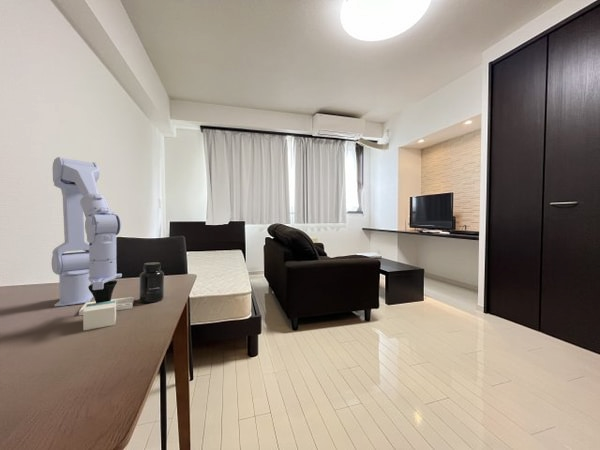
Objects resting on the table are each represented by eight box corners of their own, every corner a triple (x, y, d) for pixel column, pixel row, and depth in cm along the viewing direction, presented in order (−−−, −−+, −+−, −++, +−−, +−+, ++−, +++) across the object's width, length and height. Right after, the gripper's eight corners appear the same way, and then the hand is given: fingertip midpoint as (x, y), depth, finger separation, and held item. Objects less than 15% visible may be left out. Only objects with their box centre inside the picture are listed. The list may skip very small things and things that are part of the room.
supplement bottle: (152, 304, 78) (152, 265, 78) (134, 302, 79) (133, 264, 79) (168, 297, 85) (168, 262, 84) (151, 296, 86) (151, 261, 86)
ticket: (86, 306, 75) (86, 302, 75) (134, 300, 81) (134, 296, 81) (78, 315, 68) (78, 310, 68) (131, 308, 74) (131, 304, 74)
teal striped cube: (87, 321, 65) (87, 303, 65) (116, 316, 68) (115, 299, 68) (83, 330, 60) (83, 311, 60) (114, 324, 63) (114, 306, 63)
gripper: (117, 262, 63) (118, 316, 63) (124, 254, 76) (124, 299, 76) (81, 264, 59) (81, 321, 60) (94, 256, 72) (95, 303, 72)
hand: (103, 309), depth 68 cm, fingers closed
